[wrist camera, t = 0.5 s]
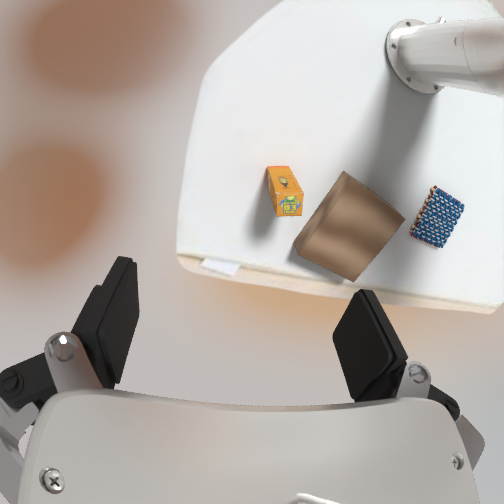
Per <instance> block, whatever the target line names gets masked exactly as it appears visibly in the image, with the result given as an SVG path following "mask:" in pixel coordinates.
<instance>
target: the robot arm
mask: <svg viewBox="0 0 504 504" xmlns="http://www.w3.org/2000/svg"><path fill="white" fill-rule="evenodd" d="M386 45H387V54H388V58H389V61H390V63H391V66H392V68H393V69H394V71H395V73H396V74H397V76H398V77H399V78H400V79H401V80H402V81H403V82H404V83H405V84H406V85H407V86H409V87H410V88H412V89H414V90H416V91H418V92H422V93H435V92H438V91H440V90H442V89H443V88H444V87H445V86H447V87H454V88H460V89H466V90H471V91H476V92H481V93H486V94H490V95H495V96H499V97H504V17H497V18H483V19H471V20H460V21H452V22H446V21H445V19H444V18H442V17H438V19H437V20H436V23H431V24H426V23H424V22H422V21H419V20H415V19H407V20H403V21H400V22H398V23H396V24H395V25H394V26H393V27H392V28H391V30H390V31H389V34H388V36H387V43H386ZM406 78H407V79H406ZM138 318H139V298H138V281H137V263H136V262H133V261H132V258H128V257H122V256H118V257H117V259H116V261H115V263H114V264H113V266H112V268H111V270H110V272H109V274H108V275H107V277H106V279H105V280H104V282H103V284H102V286H100V285H96V286H95V287H94V288H93V290H92V292H91V294H90V296H89V297H88V299H87V301H86V303H85V305H84V307H83V309H82V311H81V313H80V314H79V317H78V318H77V321H76V322H75V325H74V327H73V329H72V331H71V333H70V332H59V333H56V334H54V335H52V336H51V337H50V338H49V339H48V340H47V342H46V343H45V347H44V353H42V354H39V355H37V356H35V357H33V358H30V359H28V360H26V361H23V362H21V363H18V364H16V365H14V366H11V367H9V368H7V369H5V370H3V371H2V372H1V373H0V492H1V493H2V494H3V496H4V497H5V498H6V499H7V500H8V502H9V503H10V504H480V502H479V497H478V492H477V487H476V483H475V479H474V476H473V472H472V471H473V469H474V467H475V465H476V464H477V462H478V460H479V458H480V456H481V454H482V452H483V449H484V446H485V442H484V439H483V437H482V435H481V434H480V433H479V432H478V431H477V430H476V429H475V428H474V427H473V425H472V424H471V423H470V422H469V421H468V420H467V419H466V418H465V417H464V416H463V415H461V416H459V415H460V409H459V406H458V404H457V402H456V401H455V400H454V399H453V398H451V397H450V396H448V395H447V394H445V393H444V392H442V391H441V390H439V389H438V388H436V387H434V386H433V385H431V384H430V382H431V376H430V373H429V371H428V369H427V368H426V367H425V366H424V365H422V364H421V363H419V362H415V361H412V362H409V363H408V364H407V363H406V360H407V359H408V356H407V354H406V352H405V350H404V348H403V346H402V344H401V342H400V340H399V338H398V336H397V334H396V332H395V330H394V328H393V326H392V325H391V323H390V321H389V319H388V317H387V316H386V313H385V312H384V310H383V308H382V306H381V304H380V303H379V301H378V299H377V297H376V295H375V294H374V292H373V291H372V290H366V289H360V290H359V291H358V292H356V293H355V294H354V296H353V297H352V299H351V301H350V303H349V305H348V307H347V309H346V311H345V313H344V314H343V316H342V318H341V320H340V322H339V323H338V325H337V327H336V329H335V331H334V332H333V342H334V345H335V348H336V351H337V354H338V357H339V360H340V363H341V367H342V370H343V373H344V376H345V379H346V382H347V386H348V389H349V392H350V396H351V398H352V399H354V401H355V403H345V404H332V405H314V406H249V405H248V406H247V405H230V404H216V403H205V402H196V401H188V400H180V399H172V398H165V397H158V396H151V395H146V394H140V393H134V392H127V391H121V390H115V389H114V386H115V383H117V384H119V383H120V380H121V377H122V373H123V369H124V365H125V361H126V358H127V355H128V351H129V348H130V344H131V341H132V338H133V335H134V331H135V328H136V325H137V322H138ZM30 425H34V427H33V429H32V432H31V435H30V438H29V442H28V445H27V450H26V453H25V458H24V459H23V457H22V456H21V454H20V453H19V448H18V443H19V440H20V438H21V437H22V436H23V435H24V434H25V433H26V432H25V430H26V429H27V428H28V427H29V426H30ZM59 471H60V472H59Z"/></svg>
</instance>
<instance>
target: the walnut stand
mask: <svg viewBox="0 0 504 504" xmlns="http://www.w3.org/2000/svg"><path fill="white" fill-rule="evenodd" d="M404 220H405V218H404V217H403V216H402V215H401V214H400V213H399V212H398V211H396V210H395V209H394V208H393V207H392V206H391V205H389V204H388V203H387V202H385V201H384V200H383V199H382V198H380V197H379V196H378V195H376V194H375V193H374V192H372V191H371V190H370V189H368V188H367V187H366V186H364V185H363V184H361V183H360V182H359V181H357V180H356V179H354V178H353V177H352V176H350V175H349V174H347V173H346V172H344V171H343V173H342V174H341V175H340V177H339V178H338V180H337V181H336V183H335V184H334V186H333V187H332V188H331V190H330V191H329V193H328V194H327V196H326V197H325V198H324V200H323V201H322V203H321V204H320V205H319V207H318V208H317V210H316V211H315V213H314V214H313V215H312V217H311V218H310V220H309V221H308V222H307V224H306V225H305V227H304V228H303V229H302V231H301V232H300V233H299V235H298V236H297V238H296V239H295V240H294V244H295V247H296V250H297V253H298V255H299V256H302V257H304V258H306V259H308V260H310V261H312V262H314V263H316V264H318V265H320V266H322V267H324V268H326V269H328V270H330V271H332V272H334V273H336V274H338V275H340V276H342V277H344V278H346V279H348V280H350V281H352V282H354V281H355V280H356V279H357V278H358V277H359V276H360V274H361V273H362V272H363V271H364V270H365V269H366V267H367V266H368V265H369V264H370V263H371V262H372V260H373V259H374V258H375V257H376V256H377V254H378V253H379V252H380V251H381V249H382V248H383V247H384V246H385V245H386V243H387V242H388V241H389V240H390V238H391V237H392V236H393V234H394V233H395V232H396V231H397V229H398V228H399V227H400V225H401V224H402V223H403V222H404Z"/></svg>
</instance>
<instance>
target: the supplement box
mask: <svg viewBox="0 0 504 504" xmlns="http://www.w3.org/2000/svg"><path fill="white" fill-rule="evenodd" d="M267 182H268V189H269V192H270V195H271V199H272V202H273V205H274V209H275V212H276V215H277V216H301V215H302V206H303V195H304V193H303V191H302V189H301V188H300V186H299V184H298V182H297V180H296V179H295V177H294V175H293V173H292V171H291V169H290V167H289V166H270V167H267Z"/></svg>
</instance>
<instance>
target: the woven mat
mask: <svg viewBox="0 0 504 504" xmlns="http://www.w3.org/2000/svg"><path fill="white" fill-rule="evenodd" d="M436 188H437V186H434V187H432V188H431V191H432V194H429V195H428V196H429V197H430V199H426V202H428V203H427V205H426V204H424V205H423V206H424V210H423V209H421V208H420V210H419V211H420V212H422V213H421V214H418V216H417V217H418V220H417V219H416V221H415V222H417V223H416V225H414V224H413V225H412V228H414V229H413V230H411V229H410V231H409V232H410V233H411V236H414V237H415V238H417V237H418V238H419V239H420V240H423V239H424V241H425V242H427V243H428V242H429V244H434V246H436V247H437V246H438V247H439V248H440V247H441V248H443V245H445V243H446V241H447V240H448V237H449V236H451V235H450V233H452V231H453V228H454V227H455V225H456V224H457V221H458V219H459V218H460V216H461V214H462V212H463V211H464V204H461V202H460V201H458V200H456V199H455V198H453V199H451V198H452V196H450V195H448V196H447V193H445V192H444V191H443V190H440V189H439V188H437V189H436ZM442 192H443V193H442ZM460 204H461V205H460ZM444 207H445V208H444ZM441 212H442V213H441ZM422 215H423V216H422ZM420 219H421V220H420ZM453 223H454V224H453ZM418 225H419V226H418ZM450 229H451V230H450ZM428 235H429V236H428Z"/></svg>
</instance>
